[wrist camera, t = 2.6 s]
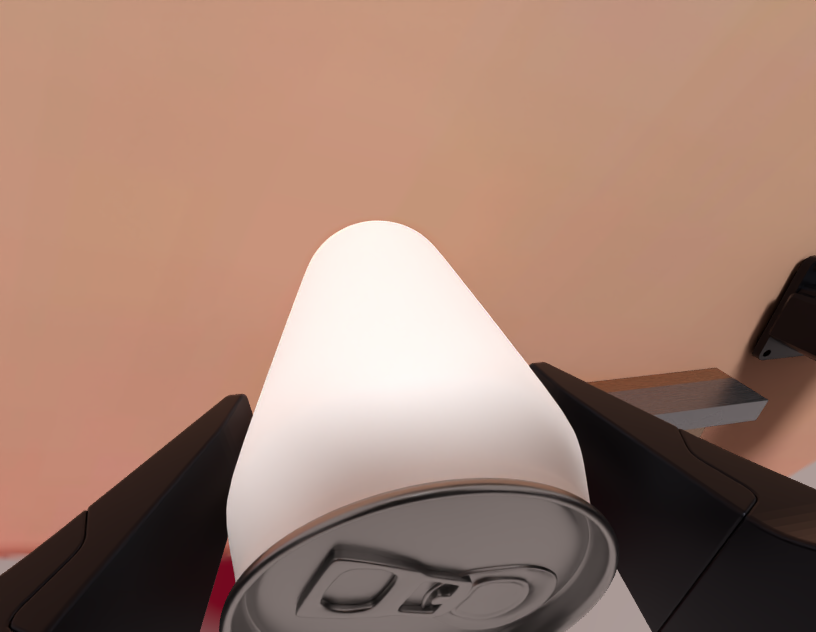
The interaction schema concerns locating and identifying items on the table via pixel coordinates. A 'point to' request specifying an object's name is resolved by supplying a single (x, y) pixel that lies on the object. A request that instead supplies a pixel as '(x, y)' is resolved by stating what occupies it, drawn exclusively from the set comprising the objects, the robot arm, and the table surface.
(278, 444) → the can
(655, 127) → the table surface
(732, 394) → the track
